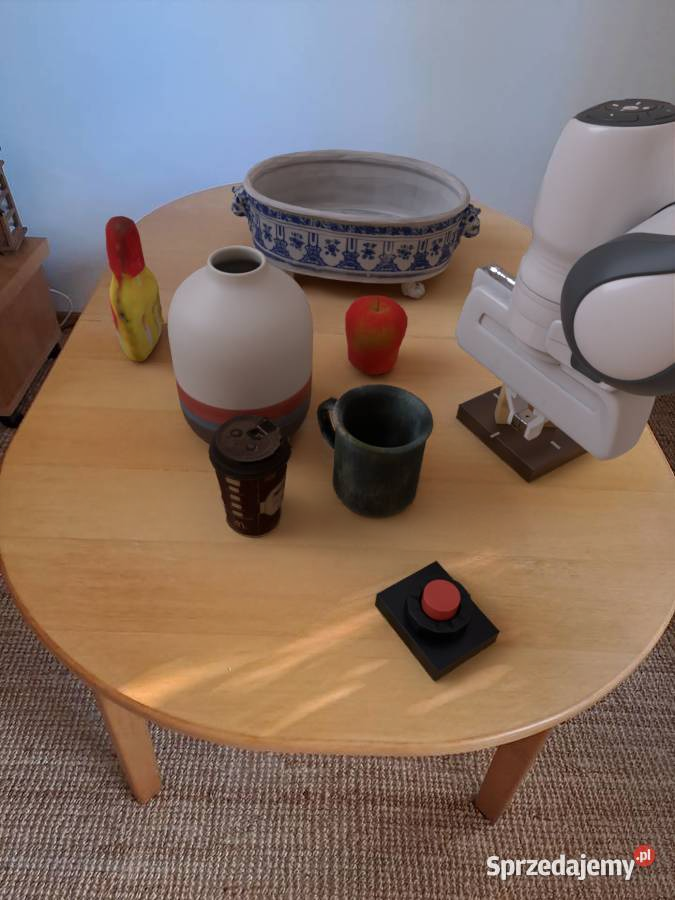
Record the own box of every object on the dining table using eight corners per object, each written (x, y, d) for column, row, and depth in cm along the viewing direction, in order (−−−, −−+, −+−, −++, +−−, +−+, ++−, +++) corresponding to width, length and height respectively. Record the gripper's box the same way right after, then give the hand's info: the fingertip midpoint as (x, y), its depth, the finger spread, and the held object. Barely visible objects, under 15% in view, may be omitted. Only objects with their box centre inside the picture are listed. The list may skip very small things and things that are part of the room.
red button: (464, 609, 66) (468, 600, 65) (436, 627, 65) (439, 617, 64) (441, 583, 68) (444, 573, 67) (414, 599, 67) (416, 589, 66)
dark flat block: (591, 449, 88) (598, 435, 87) (524, 485, 83) (530, 471, 82) (517, 390, 96) (521, 375, 94) (452, 419, 91) (455, 404, 89)
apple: (332, 373, 97) (336, 303, 89) (357, 342, 103) (362, 274, 94) (387, 391, 95) (396, 321, 86) (409, 359, 100) (419, 291, 92)
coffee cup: (292, 488, 81) (291, 408, 72) (293, 544, 75) (292, 465, 66) (219, 489, 81) (209, 409, 71) (215, 546, 75) (203, 466, 66)
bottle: (156, 370, 96) (131, 241, 81) (111, 368, 96) (79, 239, 81) (171, 322, 104) (152, 197, 90) (130, 320, 104) (104, 195, 90)
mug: (384, 539, 77) (396, 467, 68) (289, 476, 83) (289, 403, 74) (436, 485, 83) (453, 413, 74) (344, 430, 89) (350, 358, 80)
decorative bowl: (217, 292, 110) (209, 205, 100) (246, 217, 129) (241, 137, 118) (475, 314, 109) (495, 228, 99) (466, 235, 128) (482, 156, 117)
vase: (291, 477, 83) (290, 315, 66) (162, 450, 85) (129, 287, 68) (324, 391, 94) (331, 235, 77) (210, 369, 96) (192, 213, 80)
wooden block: (554, 417, 89) (568, 380, 84) (557, 427, 87) (571, 391, 83) (494, 413, 89) (504, 376, 84) (495, 423, 87) (506, 386, 83)
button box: (495, 642, 68) (504, 622, 65) (434, 682, 65) (440, 662, 62) (433, 571, 74) (439, 550, 71) (374, 605, 70) (377, 583, 68)
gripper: (454, 262, 60) (431, 380, 70) (634, 389, 49) (577, 510, 59) (505, 245, 63) (477, 362, 73) (688, 363, 51) (625, 483, 61)
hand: (522, 429), depth 66 cm, fingers closed
